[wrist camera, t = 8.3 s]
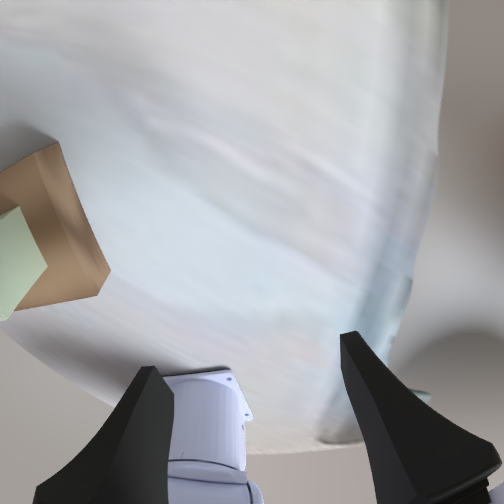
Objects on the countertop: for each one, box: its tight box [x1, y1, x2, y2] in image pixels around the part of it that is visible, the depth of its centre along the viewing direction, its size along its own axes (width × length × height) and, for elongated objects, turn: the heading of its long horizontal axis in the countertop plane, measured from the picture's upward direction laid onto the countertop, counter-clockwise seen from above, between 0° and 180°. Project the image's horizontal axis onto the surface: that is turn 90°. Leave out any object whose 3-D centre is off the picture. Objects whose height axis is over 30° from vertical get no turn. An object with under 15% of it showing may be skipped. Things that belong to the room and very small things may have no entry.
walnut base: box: [0, 142, 111, 311], centre depth 18 cm, size 10×10×3 cm
